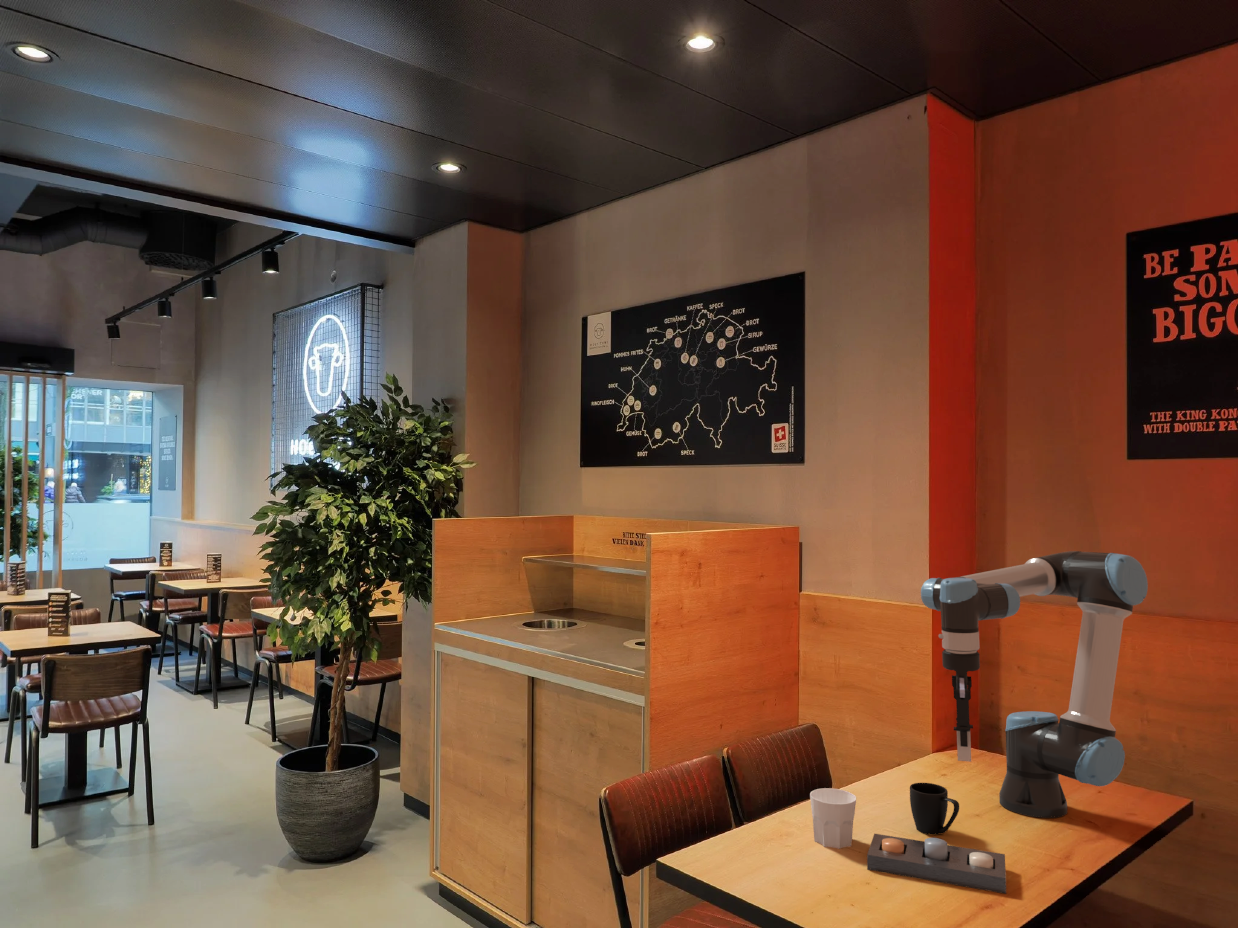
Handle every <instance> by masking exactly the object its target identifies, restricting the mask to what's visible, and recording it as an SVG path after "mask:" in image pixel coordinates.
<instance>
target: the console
mask: <svg viewBox="0 0 1238 928" xmlns="http://www.w3.org/2000/svg"><path fill="white" fill-rule="evenodd" d="M885 838H894V839H898V840H901V841H902V842H903V843H904V854H900V853H894V852H888V851H882V840H883V839H885ZM871 839H872V840H871V843H870V845H869V848H868V851H867V855H866V857H867V859H866V860H867V861H866V863H867V864H866V866H867V867H866V869H867V870H868V871H869V870H870V871H873V872H879V873H887V874H891V875H896V876H902V877H908V878H913V879H919V880H924V881H925V880H926V881H931V882H937V883H942V884H947V885H954V886H957V887H958V886H959V887H965V888H971V889H976V890H982V891H988V892H993V893H999V894H1004V895H1006V894H1007V872H1006V868H1007V867H1006V855H1005V853H1000V852H994V851H988V850H986V851H985V850H980V849H975V848H969V847H968V848H967V847H961V846H957V845H950V844H949V845H948V844H947V851H948V861H942V860H936V859H930V858H925V840H918V839H912V838H911V839H910V838H905V837H904V838H903V837H900V836H899V837H898V836H894V835H885V834H882V833H881V834H880V833H873V836H872V838H871ZM972 852H981V853H986V854H988V855H990V856H992V857H993V869H990V868H984V867H978V866H972V865H970V862H969V854H970V853H972Z"/></svg>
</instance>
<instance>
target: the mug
mask: <svg viewBox="0 0 1238 928" xmlns="http://www.w3.org/2000/svg"><path fill="white" fill-rule="evenodd" d="M948 796H949V795H948V789H947V788H946V787H944V786H942V785H939V784H937V783H932V782H931V783H930V782H915V783H912V784H910V786H909V802H910V810H911V814H912V815H911V816H912V819H913V821H914V825H915V828H916V831H918V832H919V833H921V834H925V835H931V836H933V835H934V836H935V835H940V834H945V833H946V832H948V830H949V829H950V827H951V826H952V824H953V823H954V821H955V820H956V818H957V816H958V814H959V811H960V803H959V801H958V800H956V799H954V798H949V797H948ZM949 803H951V804H952V805H953V811H952V814H951V815H950V818H949V820H948V821H947V823H946V824H945V822H946V817H947V813H948V806H949V805H948V804H949ZM944 825H945V826H944Z"/></svg>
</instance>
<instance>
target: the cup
mask: <svg viewBox="0 0 1238 928" xmlns="http://www.w3.org/2000/svg"><path fill="white" fill-rule="evenodd" d="M809 799H810V807H811V808H810V810H811V815H812V823H813V824H812V827H813V839H814V840H813V841H814V842H815V843H818V844H820V845H822V846H823V847H824V848H834V849H838V850H840V849H842V848H847V847H852V841H853V831H854V829H853V828H854V818H855V814H856V813H855V812H856V804H857V796H856V795H855V794H853V793H852V792H849V791H847V790H844V789H840V788H833V787H832V788H831V787H829V788H826V787H824V788H817V789H814V790H812V791H810V793H809Z"/></svg>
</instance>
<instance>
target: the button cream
mask: <svg viewBox="0 0 1238 928" xmlns="http://www.w3.org/2000/svg"><path fill="white" fill-rule="evenodd" d="M969 862H970V865H972V866H978V867H984V868H990V869H993V857H992V856H990V855H988V854H986V853H981V852H972V853H970V854H969Z"/></svg>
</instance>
